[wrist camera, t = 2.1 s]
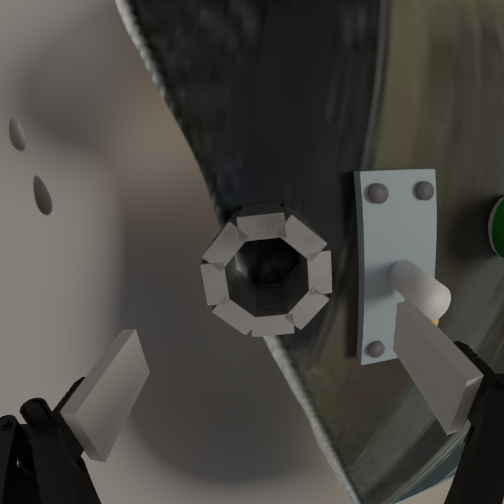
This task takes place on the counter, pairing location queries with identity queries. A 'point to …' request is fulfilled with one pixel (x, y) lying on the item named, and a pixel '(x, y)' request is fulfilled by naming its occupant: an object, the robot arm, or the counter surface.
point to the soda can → (497, 228)
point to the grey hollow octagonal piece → (272, 294)
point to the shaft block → (395, 254)
